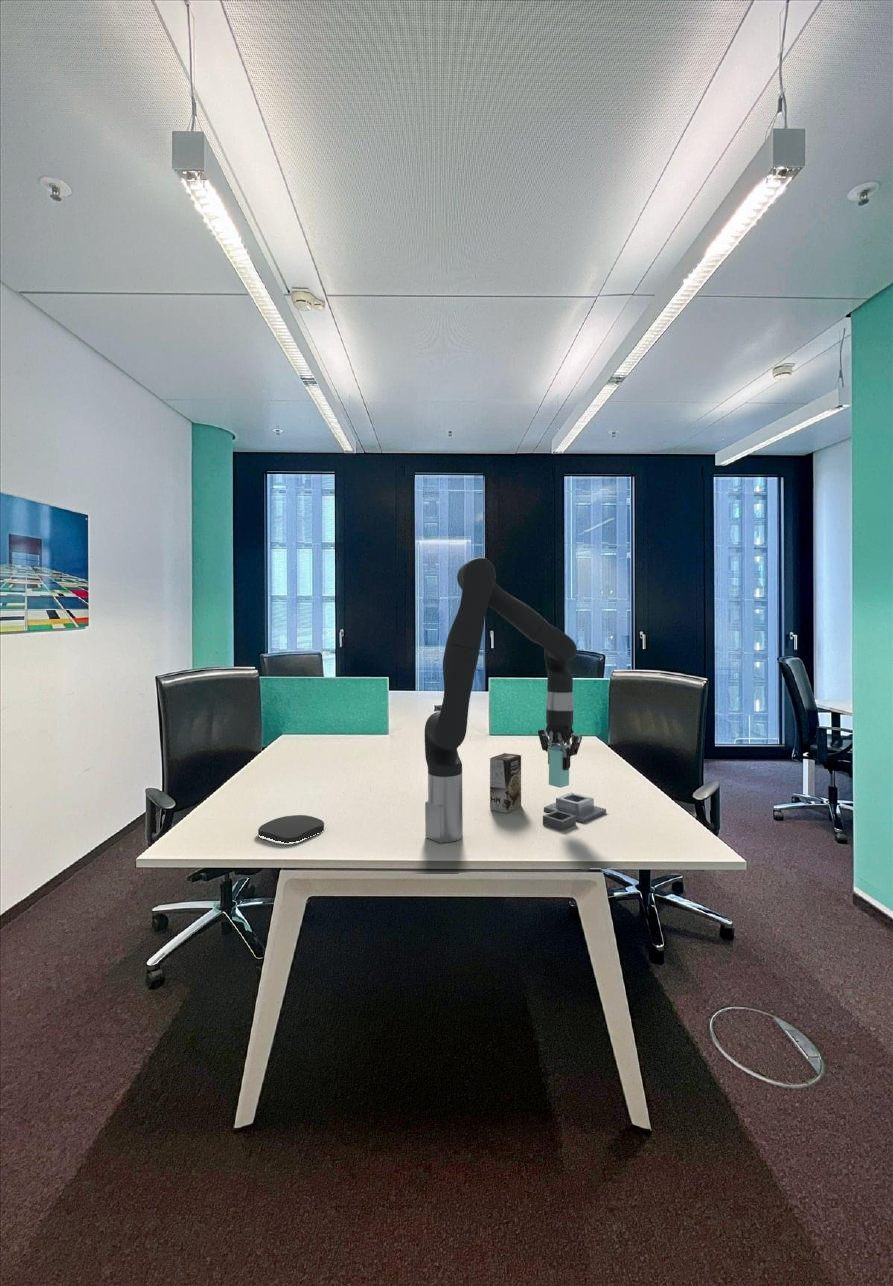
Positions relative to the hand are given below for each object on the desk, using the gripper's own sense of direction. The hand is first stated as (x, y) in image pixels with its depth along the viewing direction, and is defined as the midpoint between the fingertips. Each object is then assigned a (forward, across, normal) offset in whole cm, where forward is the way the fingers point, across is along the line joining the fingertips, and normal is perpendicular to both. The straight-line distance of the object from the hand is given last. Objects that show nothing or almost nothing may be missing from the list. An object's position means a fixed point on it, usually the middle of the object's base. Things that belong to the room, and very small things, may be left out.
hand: (559, 768), depth 152 cm
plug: (+5, 0, 0) cm, 5 cm away
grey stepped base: (+16, -3, +12) cm, 20 cm away
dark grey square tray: (+16, 0, 0) cm, 16 cm away
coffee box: (+17, -20, 0) cm, 26 cm away
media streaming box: (+18, -47, -58) cm, 76 cm away
